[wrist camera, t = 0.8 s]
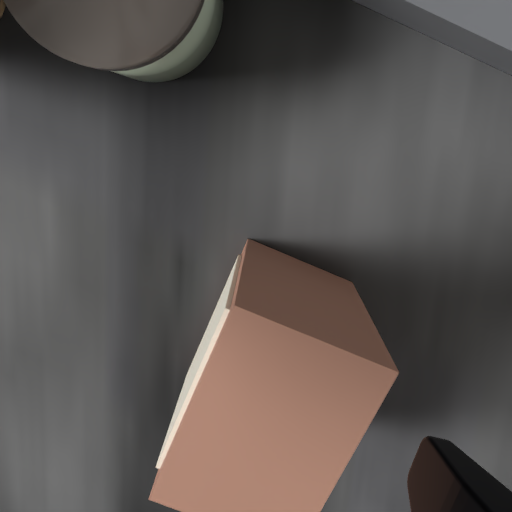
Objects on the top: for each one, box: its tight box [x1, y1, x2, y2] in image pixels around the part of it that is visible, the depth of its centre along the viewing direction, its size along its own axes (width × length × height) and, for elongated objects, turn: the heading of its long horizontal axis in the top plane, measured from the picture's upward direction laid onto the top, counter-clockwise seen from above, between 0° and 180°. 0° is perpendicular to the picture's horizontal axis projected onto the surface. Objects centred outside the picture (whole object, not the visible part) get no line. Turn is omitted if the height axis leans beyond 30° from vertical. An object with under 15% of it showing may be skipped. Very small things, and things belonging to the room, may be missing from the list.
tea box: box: [149, 239, 399, 512], centre depth 18 cm, size 5×7×8 cm
